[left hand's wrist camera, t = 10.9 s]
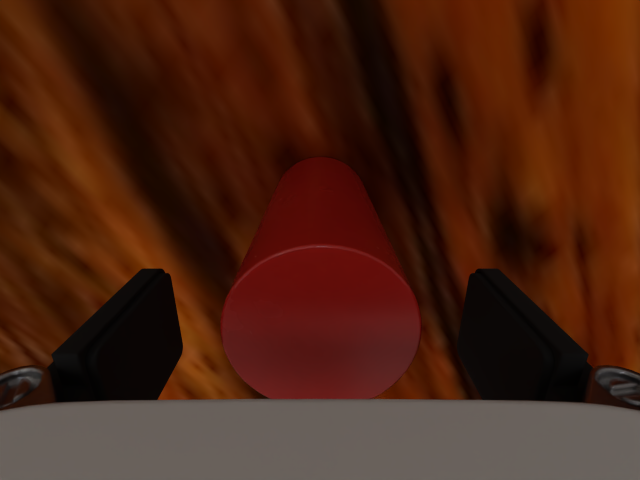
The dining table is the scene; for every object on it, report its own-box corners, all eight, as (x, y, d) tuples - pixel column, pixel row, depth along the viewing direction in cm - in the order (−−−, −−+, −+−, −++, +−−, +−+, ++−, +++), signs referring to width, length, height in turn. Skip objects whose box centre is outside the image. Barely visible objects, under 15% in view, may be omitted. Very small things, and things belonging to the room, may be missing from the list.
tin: (382, 181, 20) (463, 296, 9) (340, 257, 22) (362, 433, 10) (297, 140, 19) (265, 208, 8) (261, 223, 21) (192, 374, 10)
